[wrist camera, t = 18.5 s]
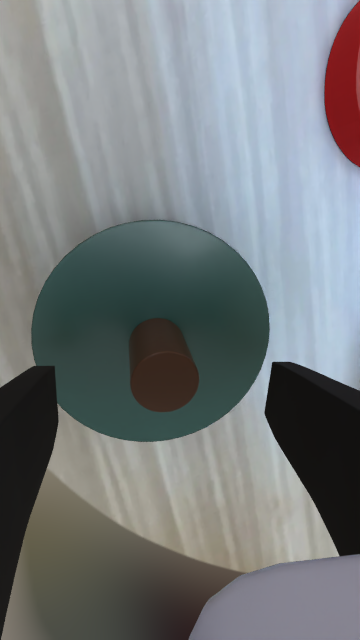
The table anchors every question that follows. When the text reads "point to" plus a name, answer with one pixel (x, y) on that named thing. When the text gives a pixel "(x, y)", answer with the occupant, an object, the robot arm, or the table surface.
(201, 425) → the lid
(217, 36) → the table surface
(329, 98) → the decorative ornament
